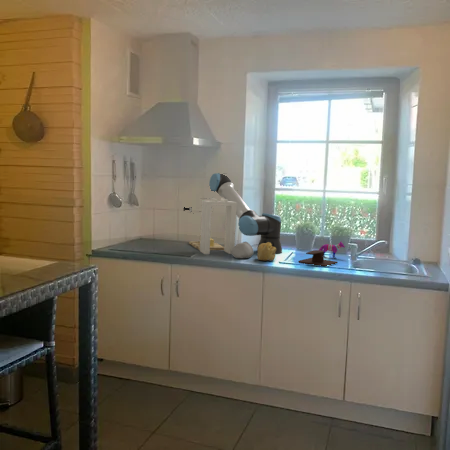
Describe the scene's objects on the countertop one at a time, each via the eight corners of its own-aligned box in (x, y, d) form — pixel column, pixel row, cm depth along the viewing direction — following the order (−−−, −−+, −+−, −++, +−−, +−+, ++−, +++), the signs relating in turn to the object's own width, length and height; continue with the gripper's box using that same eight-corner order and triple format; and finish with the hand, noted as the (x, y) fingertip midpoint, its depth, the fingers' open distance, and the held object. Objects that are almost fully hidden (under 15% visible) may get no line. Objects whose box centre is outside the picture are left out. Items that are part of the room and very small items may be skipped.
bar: (213, 246, 291) (214, 240, 291) (207, 246, 290) (207, 239, 290) (205, 241, 313) (206, 235, 312) (199, 241, 311) (200, 235, 311)
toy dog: (343, 259, 276) (344, 241, 274) (312, 256, 283) (314, 238, 282) (344, 258, 279) (346, 241, 278) (314, 255, 286) (315, 238, 285)
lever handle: (295, 250, 256) (312, 247, 272) (294, 264, 256) (311, 259, 272) (323, 254, 246) (339, 251, 262) (322, 268, 247) (338, 264, 263)
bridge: (234, 253, 277) (236, 199, 274) (204, 254, 271) (206, 198, 268) (228, 251, 286) (231, 198, 283) (199, 251, 281) (202, 197, 277)
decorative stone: (249, 255, 257) (241, 239, 259) (234, 264, 260) (226, 248, 262) (259, 253, 274) (250, 238, 275) (244, 262, 277) (236, 247, 278)
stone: (272, 263, 254) (273, 244, 253) (253, 261, 257) (254, 242, 256) (277, 259, 266) (278, 241, 265) (259, 257, 269) (260, 239, 268)
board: (225, 250, 289) (225, 247, 289) (200, 250, 284) (200, 247, 283) (212, 243, 313) (213, 241, 313) (189, 243, 308) (189, 241, 308)
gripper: (210, 213, 335) (219, 215, 315) (175, 212, 327) (182, 215, 307) (210, 202, 334) (219, 204, 314) (175, 201, 326) (182, 203, 306)
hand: (201, 209), depth 310 cm, fingers open, 13 cm apart
